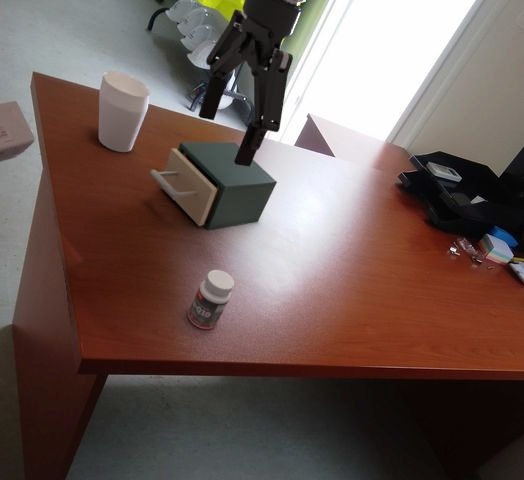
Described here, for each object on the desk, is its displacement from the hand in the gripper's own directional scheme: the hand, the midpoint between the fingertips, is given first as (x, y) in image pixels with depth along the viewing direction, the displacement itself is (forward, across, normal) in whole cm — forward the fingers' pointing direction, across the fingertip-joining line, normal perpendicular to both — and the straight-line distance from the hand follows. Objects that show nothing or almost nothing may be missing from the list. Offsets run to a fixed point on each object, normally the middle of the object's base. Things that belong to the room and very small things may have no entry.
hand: (223, 140), depth 75 cm
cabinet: (+17, +6, -8) cm, 20 cm away
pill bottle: (+17, -24, +9) cm, 30 cm away
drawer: (+16, +5, -2) cm, 17 cm away
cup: (+17, +25, +6) cm, 31 cm away
